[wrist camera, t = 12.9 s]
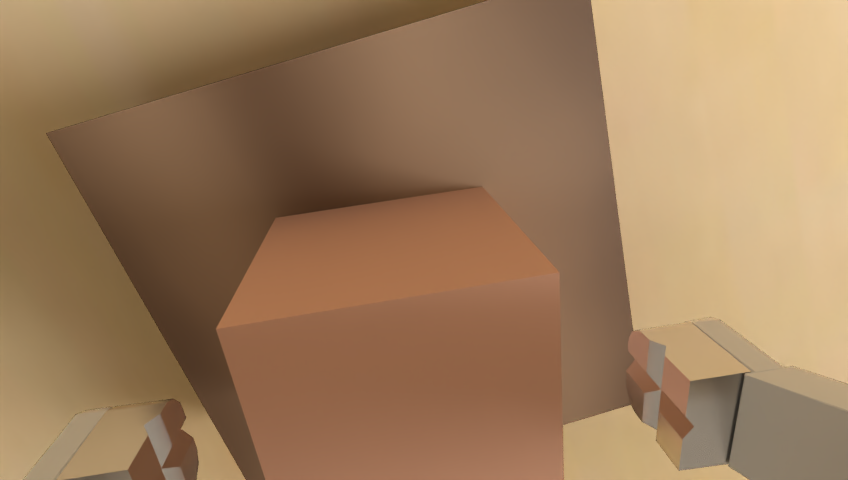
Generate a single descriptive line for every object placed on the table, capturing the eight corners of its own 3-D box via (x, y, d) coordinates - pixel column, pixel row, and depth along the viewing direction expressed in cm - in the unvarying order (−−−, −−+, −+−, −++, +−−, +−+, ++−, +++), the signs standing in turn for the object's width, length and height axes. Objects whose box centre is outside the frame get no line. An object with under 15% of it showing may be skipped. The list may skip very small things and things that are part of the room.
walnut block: (519, -4, 15) (586, -30, 10) (576, 317, 19) (642, 401, 15) (145, 107, 15) (46, 133, 10) (290, 404, 19) (265, 514, 15)
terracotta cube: (482, 186, 12) (559, 272, 7) (496, 357, 14) (564, 514, 9) (275, 218, 11) (215, 329, 7) (318, 388, 13) (294, 567, 9)
